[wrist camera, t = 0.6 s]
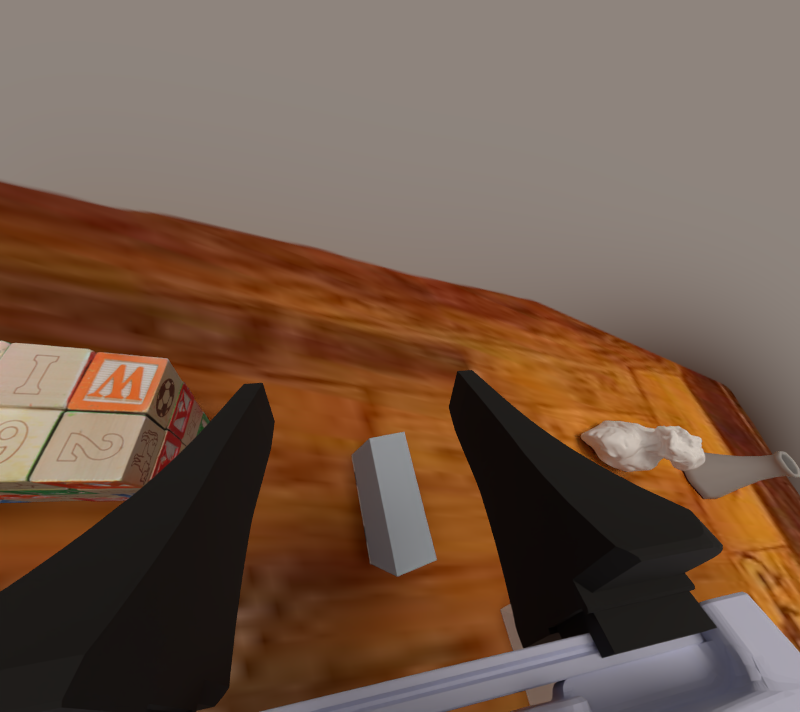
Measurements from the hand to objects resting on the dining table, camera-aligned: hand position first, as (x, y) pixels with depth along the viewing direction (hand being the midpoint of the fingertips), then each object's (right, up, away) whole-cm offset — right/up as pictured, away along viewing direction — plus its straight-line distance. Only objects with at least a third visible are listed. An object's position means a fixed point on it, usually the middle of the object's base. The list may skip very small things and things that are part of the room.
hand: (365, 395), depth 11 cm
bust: (+30, -12, +29) cm, 44 cm away
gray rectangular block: (-1, -12, +16) cm, 20 cm away
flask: (+47, -17, +33) cm, 60 cm away
